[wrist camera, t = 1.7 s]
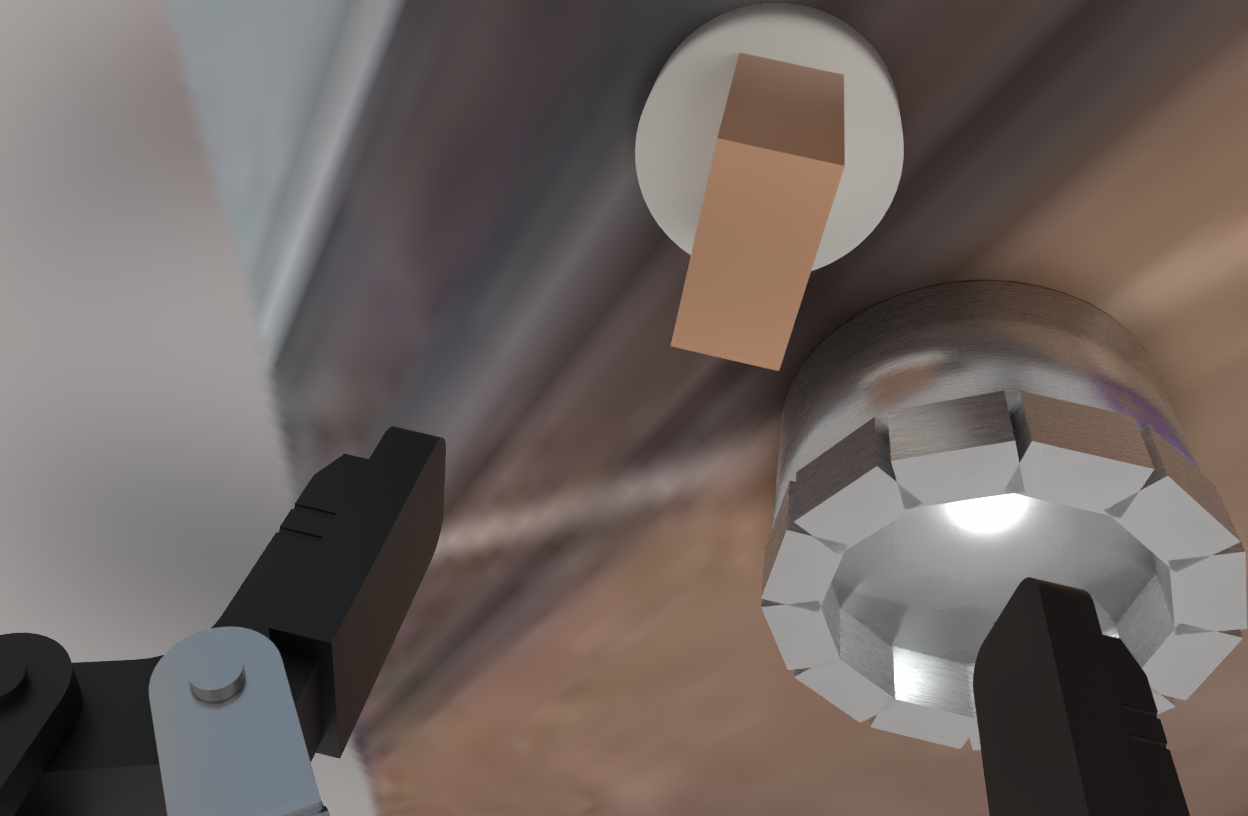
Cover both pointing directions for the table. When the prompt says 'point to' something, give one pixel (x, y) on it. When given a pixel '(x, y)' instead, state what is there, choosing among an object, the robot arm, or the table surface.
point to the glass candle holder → (986, 503)
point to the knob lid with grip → (765, 167)
